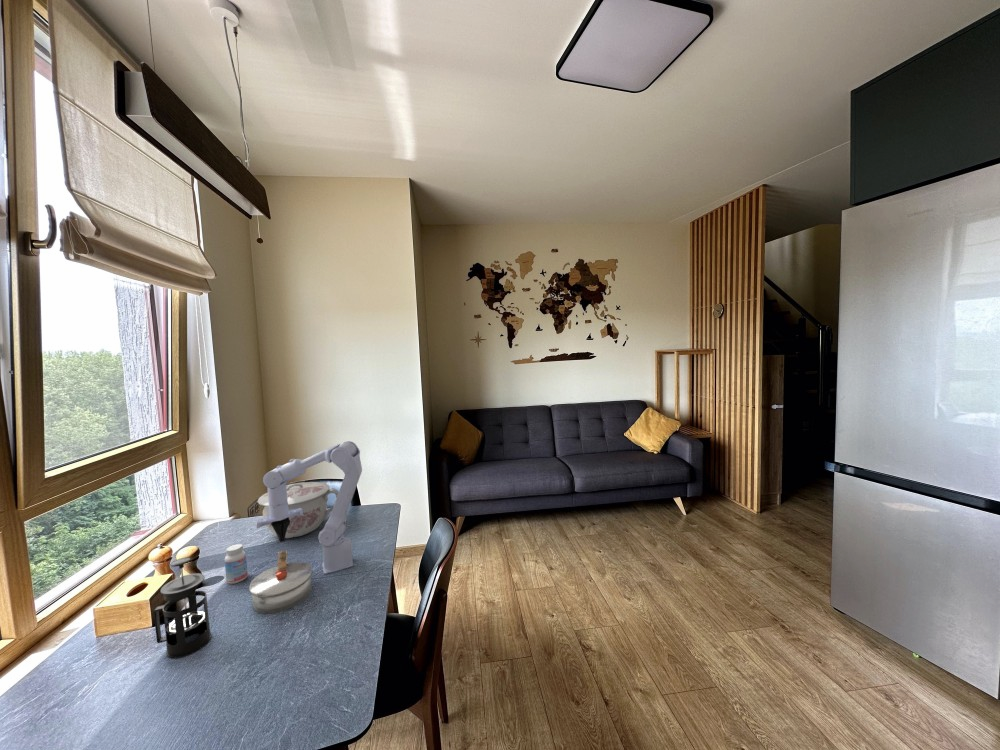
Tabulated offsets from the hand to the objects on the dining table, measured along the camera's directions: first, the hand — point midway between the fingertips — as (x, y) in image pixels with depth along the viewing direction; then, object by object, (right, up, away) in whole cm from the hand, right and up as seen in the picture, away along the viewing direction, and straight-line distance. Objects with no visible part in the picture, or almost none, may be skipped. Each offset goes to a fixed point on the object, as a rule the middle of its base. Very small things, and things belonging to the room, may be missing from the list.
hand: (281, 540), depth 137 cm
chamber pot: (-10, -9, +31) cm, 34 cm away
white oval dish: (+7, -11, -12) cm, 18 cm away
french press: (-6, -13, -34) cm, 37 cm away
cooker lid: (+8, -6, -13) cm, 16 cm away
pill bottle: (-13, -12, -4) cm, 18 cm away
